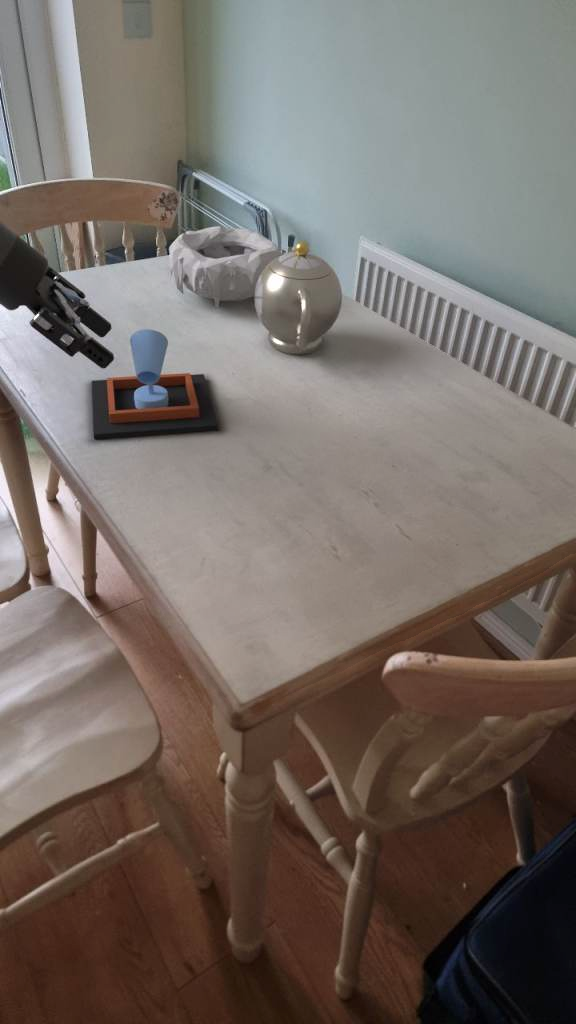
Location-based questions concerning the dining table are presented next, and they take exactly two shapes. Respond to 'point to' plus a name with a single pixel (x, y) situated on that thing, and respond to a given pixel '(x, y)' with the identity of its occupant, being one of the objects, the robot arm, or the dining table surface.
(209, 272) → the bowl
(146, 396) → the spotlight
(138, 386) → the pad
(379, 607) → the dining table surface
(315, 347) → the teapot
